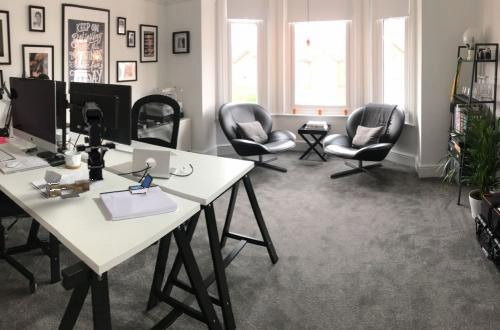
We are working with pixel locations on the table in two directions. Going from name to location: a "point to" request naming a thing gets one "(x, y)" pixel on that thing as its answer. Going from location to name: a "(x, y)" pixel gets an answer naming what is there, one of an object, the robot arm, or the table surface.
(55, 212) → the table surface
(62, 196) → the pit mat
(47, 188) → the tunnel
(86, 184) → the walnut block
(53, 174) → the die
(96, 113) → the robot arm
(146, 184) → the handheld game console
